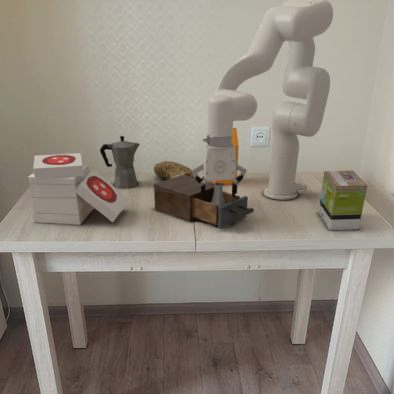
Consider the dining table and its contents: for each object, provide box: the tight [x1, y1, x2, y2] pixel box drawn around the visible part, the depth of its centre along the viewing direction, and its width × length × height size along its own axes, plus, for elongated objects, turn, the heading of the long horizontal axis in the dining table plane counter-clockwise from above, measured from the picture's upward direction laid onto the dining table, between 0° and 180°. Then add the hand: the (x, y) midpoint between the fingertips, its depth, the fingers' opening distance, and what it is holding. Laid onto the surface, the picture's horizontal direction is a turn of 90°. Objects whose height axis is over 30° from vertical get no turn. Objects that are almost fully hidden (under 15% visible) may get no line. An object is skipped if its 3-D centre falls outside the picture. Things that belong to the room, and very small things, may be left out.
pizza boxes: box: [27, 152, 130, 226], centre depth 161 cm, size 19×30×18 cm, turn 83°
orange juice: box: [211, 127, 240, 186], centre depth 190 cm, size 8×9×20 cm
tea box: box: [317, 170, 368, 231], centre depth 159 cm, size 15×10×15 cm, turn 3°
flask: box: [211, 182, 226, 210], centre depth 160 cm, size 7×7×10 cm
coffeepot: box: [99, 135, 141, 189], centre depth 187 cm, size 15×9×18 cm, turn 111°
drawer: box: [192, 190, 255, 230], centre depth 160 cm, size 21×14×7 cm, turn 48°
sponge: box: [153, 160, 195, 180], centre depth 195 cm, size 13×8×20 cm
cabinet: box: [153, 175, 214, 223], centre depth 169 cm, size 17×15×9 cm
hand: (218, 196), depth 159 cm, fingers open, 9 cm apart
